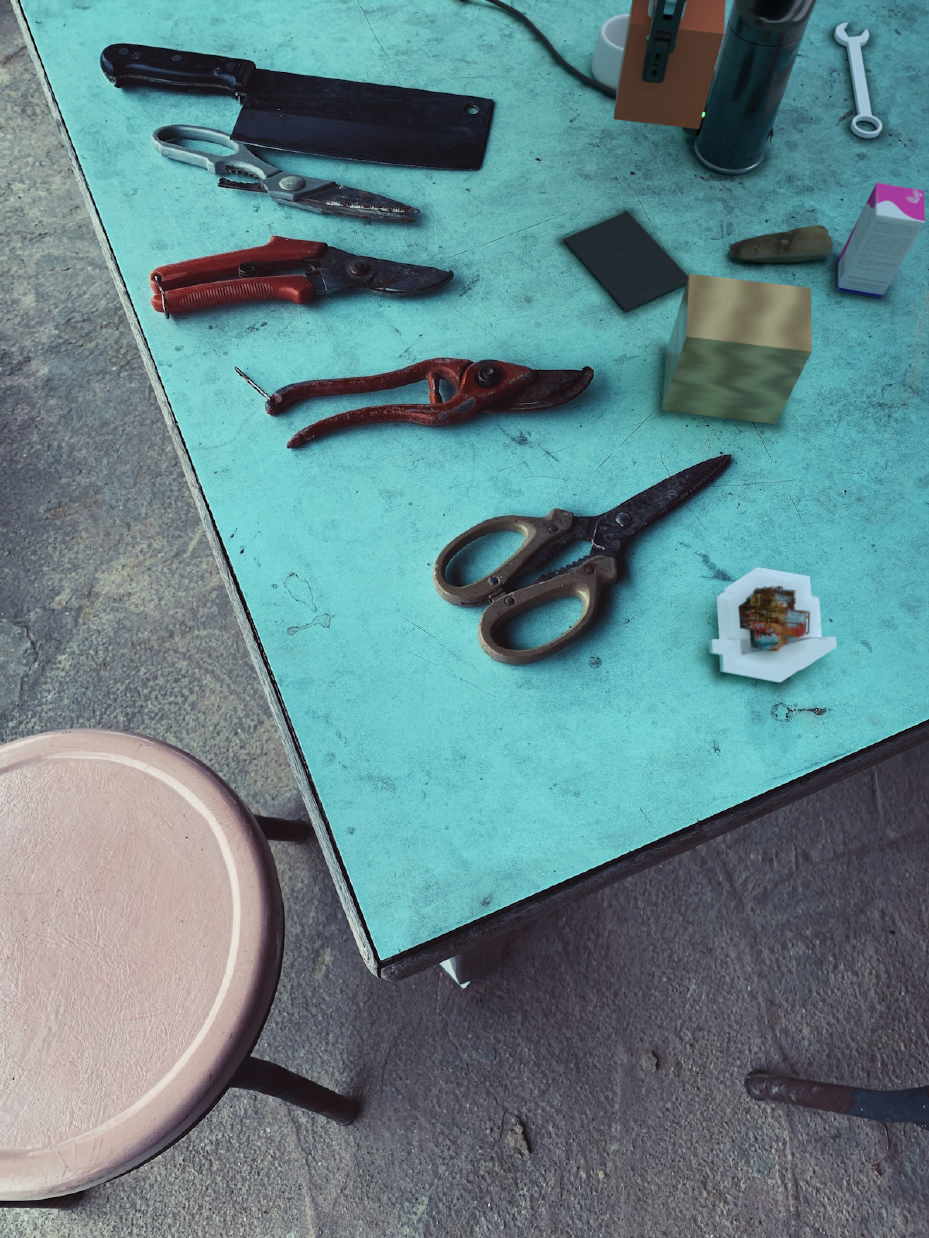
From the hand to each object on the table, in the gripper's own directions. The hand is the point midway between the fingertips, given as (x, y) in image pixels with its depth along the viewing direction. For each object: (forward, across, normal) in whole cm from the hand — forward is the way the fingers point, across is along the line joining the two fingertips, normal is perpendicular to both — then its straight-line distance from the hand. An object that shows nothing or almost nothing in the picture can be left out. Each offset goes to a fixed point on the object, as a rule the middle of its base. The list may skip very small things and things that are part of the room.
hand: (654, 60), depth 94 cm
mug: (+26, -37, 0) cm, 45 cm away
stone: (+26, -5, +21) cm, 34 cm away
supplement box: (+26, -2, +31) cm, 40 cm away
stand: (+26, +18, +14) cm, 35 cm away
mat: (+26, 0, +2) cm, 26 cm away
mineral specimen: (+26, +50, +19) cm, 60 cm away
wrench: (+26, -41, +32) cm, 58 cm away
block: (0, 0, +6) cm, 6 cm away
